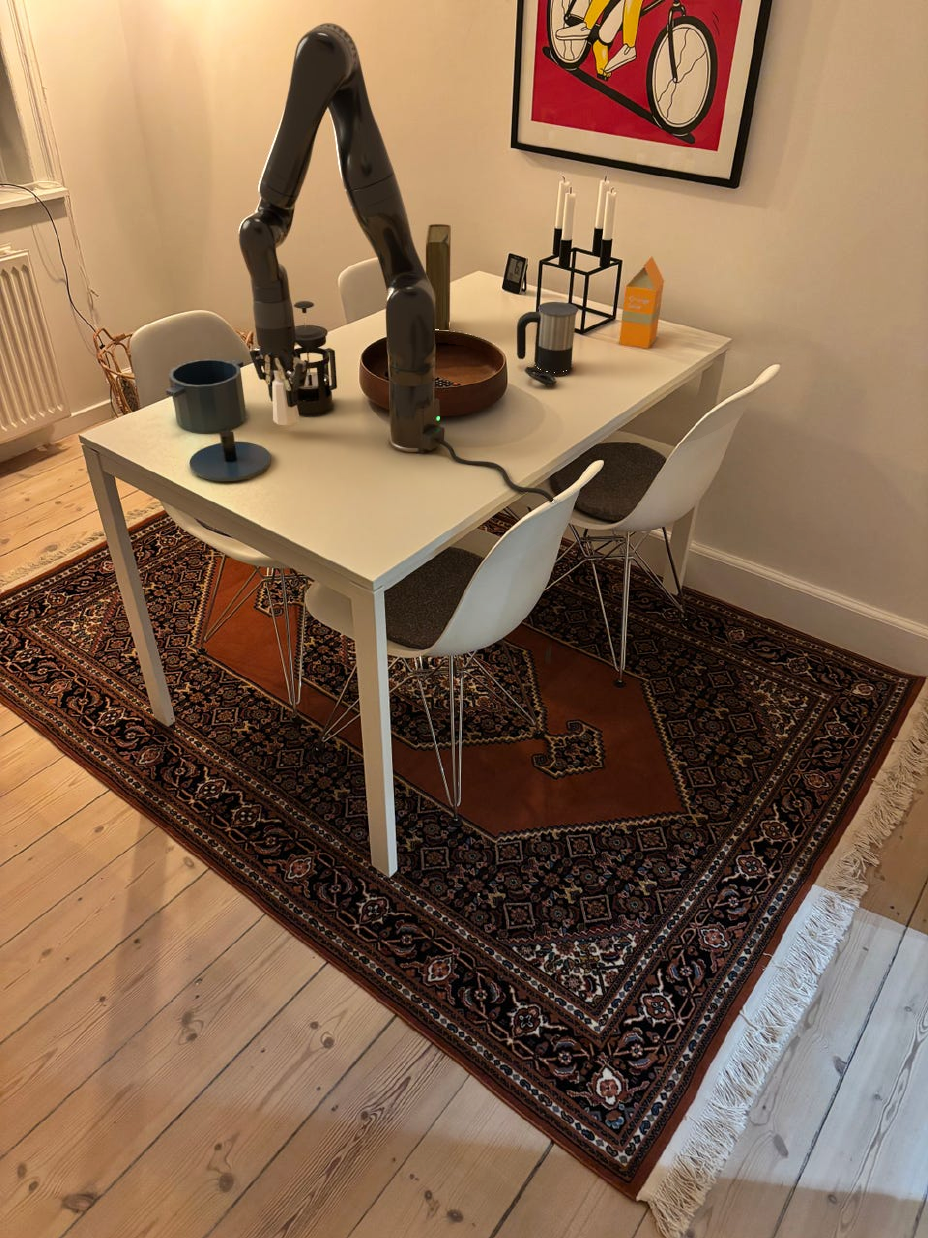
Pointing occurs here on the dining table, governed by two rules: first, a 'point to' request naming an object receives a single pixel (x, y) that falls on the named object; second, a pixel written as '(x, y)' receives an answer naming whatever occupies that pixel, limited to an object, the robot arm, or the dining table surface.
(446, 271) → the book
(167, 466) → the dining table surface
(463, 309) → the dining table surface
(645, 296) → the orange juice
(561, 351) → the milk frother
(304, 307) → the french press
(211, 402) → the pot
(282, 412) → the pepper shaker
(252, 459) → the lid
